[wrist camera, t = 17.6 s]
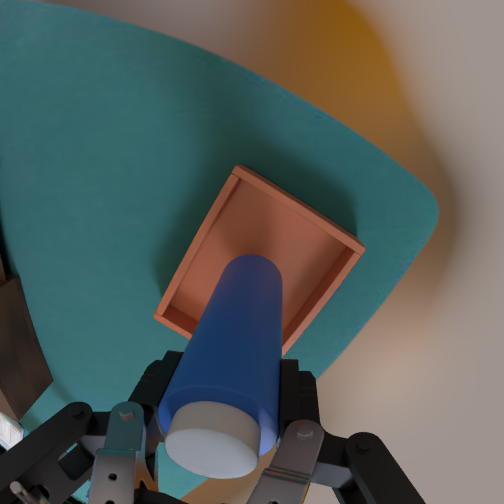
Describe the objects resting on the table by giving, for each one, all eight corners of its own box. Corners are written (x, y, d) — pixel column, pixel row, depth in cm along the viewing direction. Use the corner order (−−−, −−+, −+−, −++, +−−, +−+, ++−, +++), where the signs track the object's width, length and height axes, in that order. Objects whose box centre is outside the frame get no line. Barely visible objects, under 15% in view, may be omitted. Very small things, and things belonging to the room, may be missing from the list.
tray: (241, 163, 22) (235, 165, 19) (358, 238, 23) (366, 248, 20) (163, 302, 26) (152, 317, 23) (265, 360, 27) (263, 379, 24)
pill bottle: (220, 252, 21) (132, 402, 8) (283, 254, 21) (282, 420, 7) (222, 308, 22) (160, 476, 9) (281, 311, 22) (274, 490, 9)
